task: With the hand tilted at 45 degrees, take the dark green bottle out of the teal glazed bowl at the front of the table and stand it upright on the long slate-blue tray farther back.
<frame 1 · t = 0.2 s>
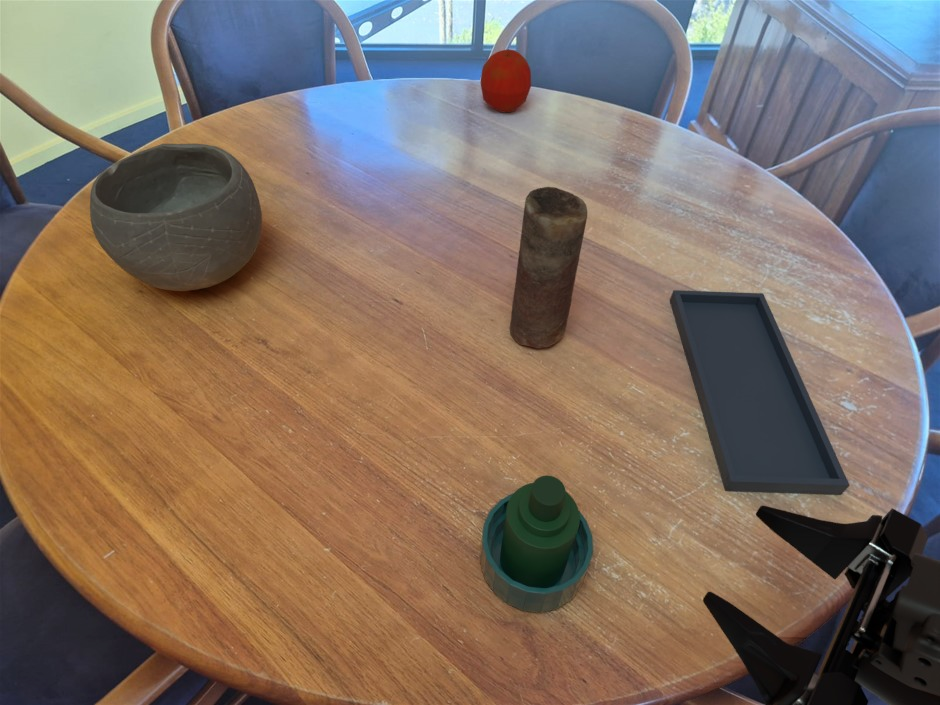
hand: (733, 550, 46), 16 cm above the table, tool horizontal, fingers open, 9 cm apart
apple: (504, 108, 127), on the table
brown textured cylinder: (537, 332, 83), on the table
glazed bowl: (532, 561, 61), on the table
bottle: (532, 559, 60), point 1 cm above the table, touching glazed bowl
tray: (743, 384, 77), on the table
bowl: (200, 268, 90), on the table
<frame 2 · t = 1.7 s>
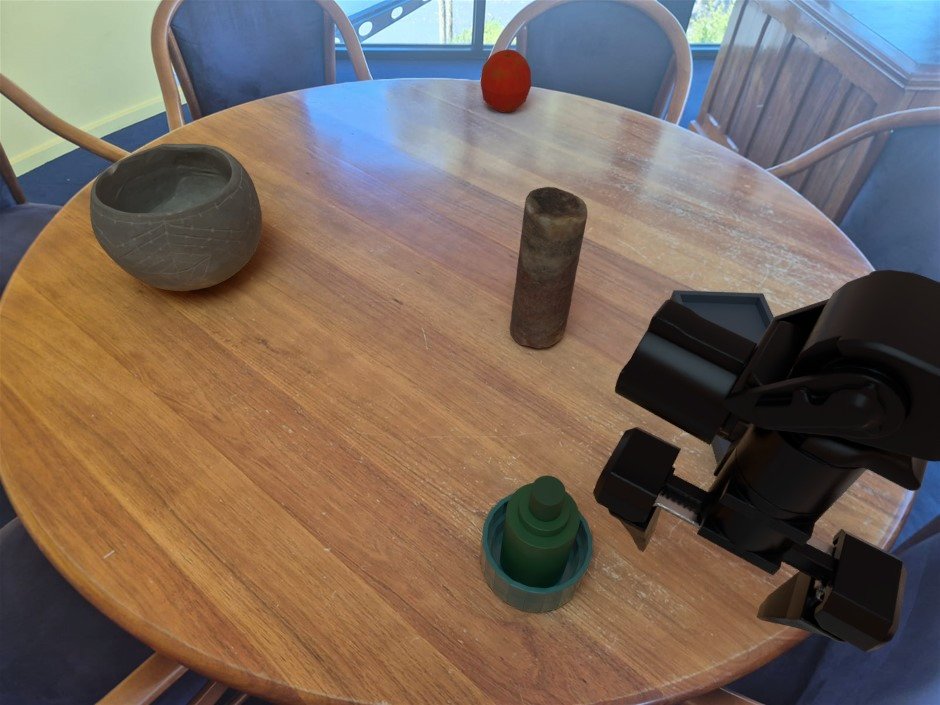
hand: (700, 578, 47), 13 cm above the table, tool pointing down, fingers open, 9 cm apart
nothing on the table moved.
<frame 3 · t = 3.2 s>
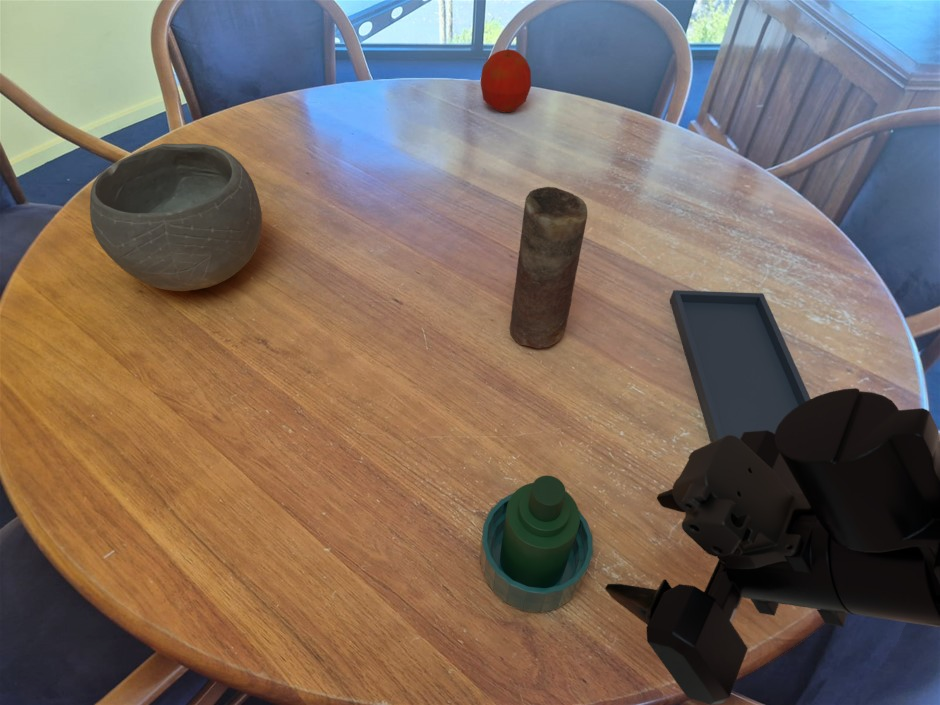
hand: (635, 543, 48), 13 cm above the table, tool tilted 45°, fingers open, 9 cm apart
nothing on the table moved.
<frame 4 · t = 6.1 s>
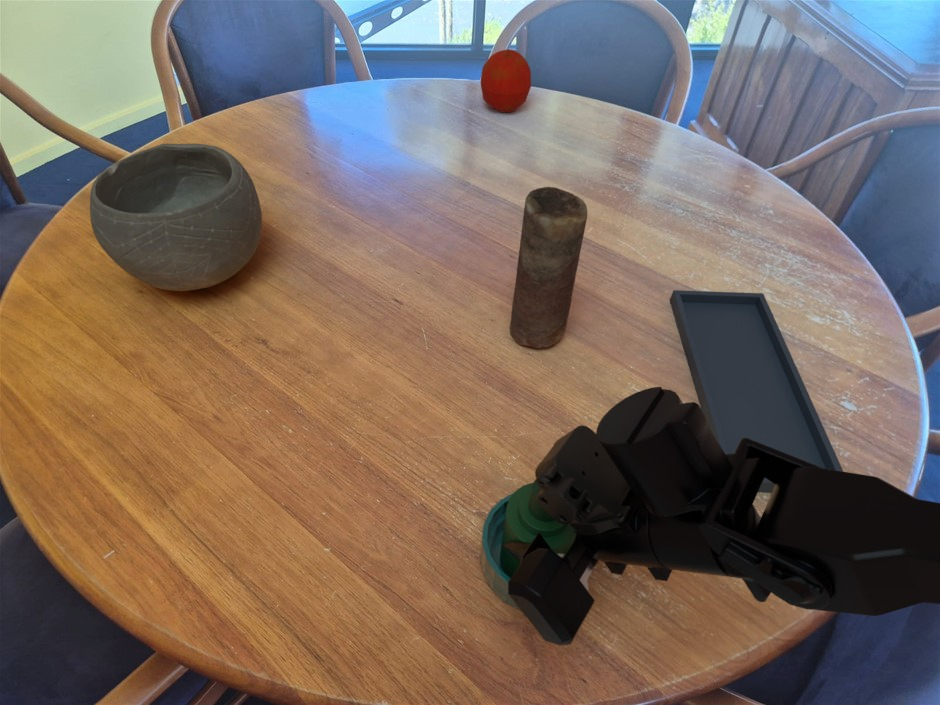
hand: (526, 519, 56), 7 cm above the table, tool tilted 45°, fingers closed on bottle, 6 cm apart
bottle: (532, 559, 60), point 1 cm above the table, touching glazed bowl, gripper
everything else where it was.
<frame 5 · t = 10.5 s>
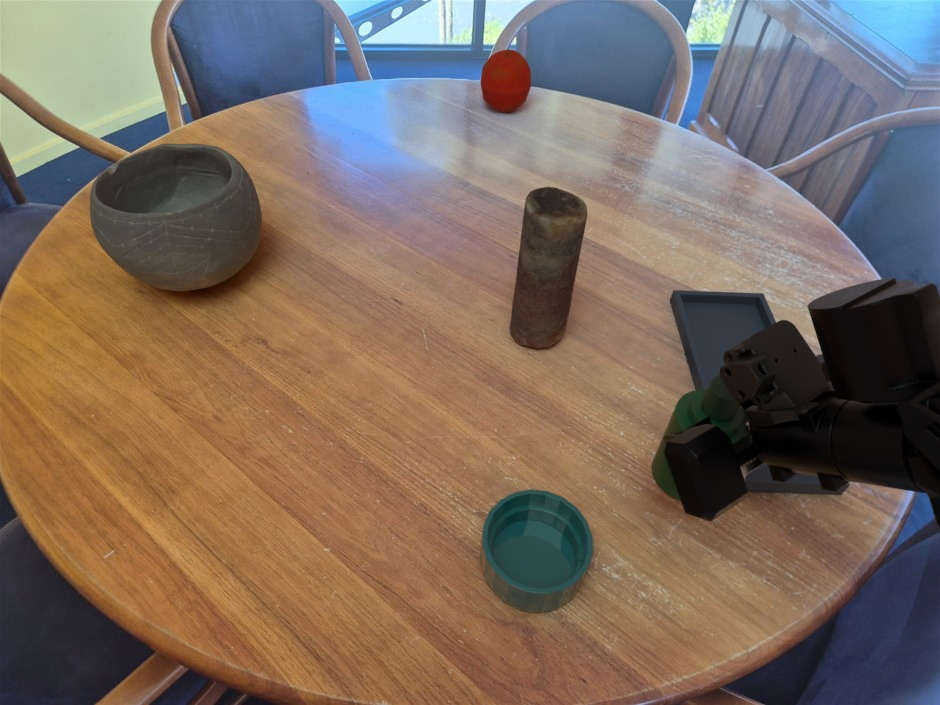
hand: (693, 424, 56), 13 cm above the table, tool tilted 45°, fingers closed on bottle, 6 cm apart
bottle: (684, 474, 60), point 7 cm above the table, touching gripper
everything else where it was.
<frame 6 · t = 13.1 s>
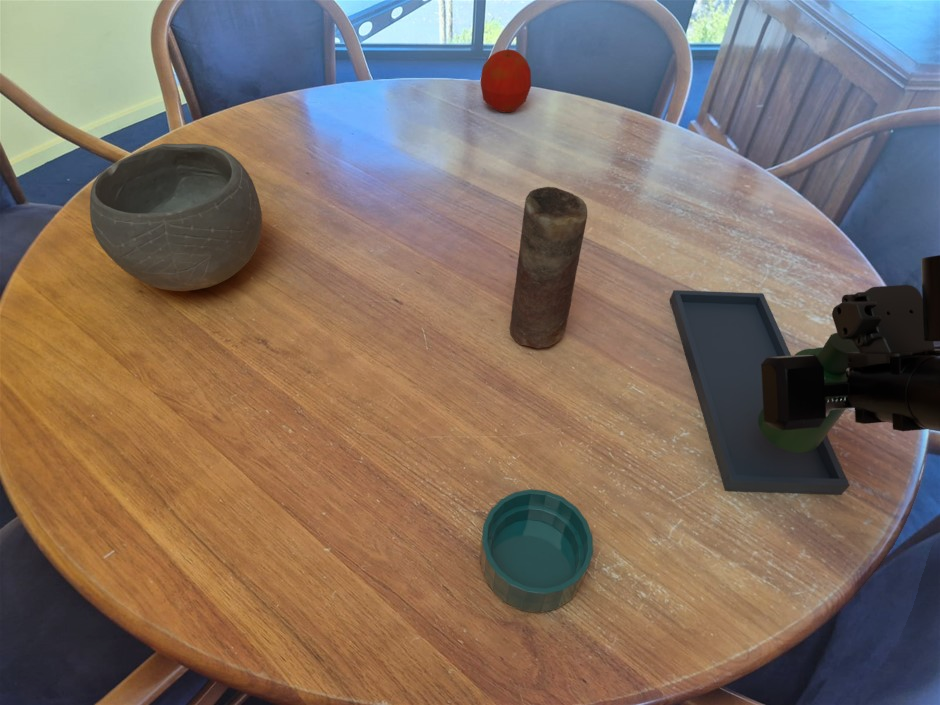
hand: (808, 379, 62), 12 cm above the table, tool tilted 45°, fingers closed on bottle, 6 cm apart
bottle: (789, 428, 66), point 5 cm above the table, touching gripper
everything else where it was.
when the fingers open (7 cm above the table, at t = 15.0 s): bottle stays where it is, resting on tray.
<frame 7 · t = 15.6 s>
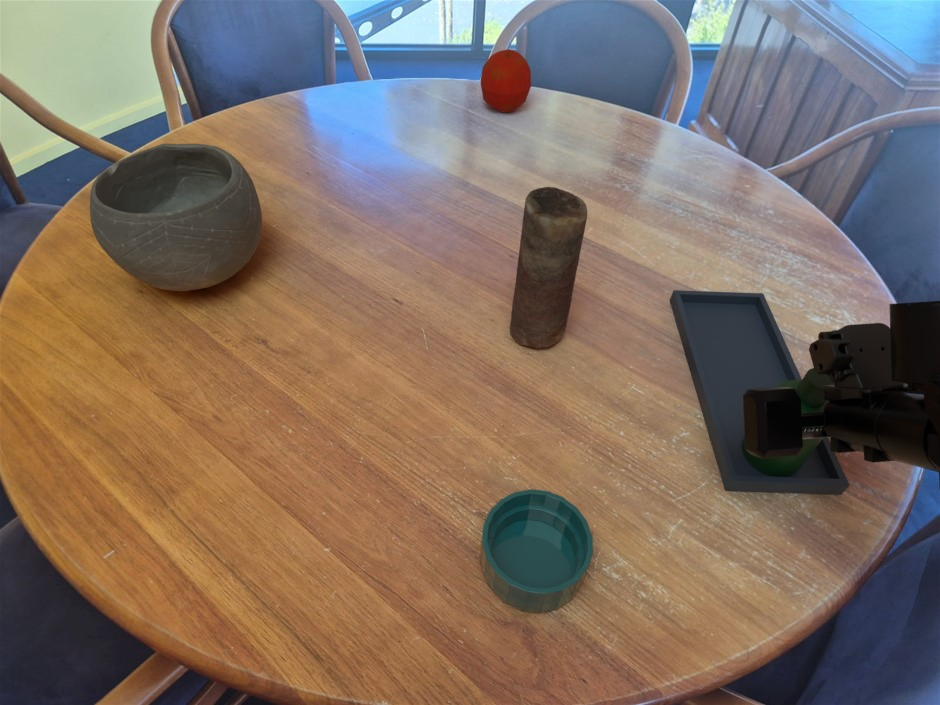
hand: (789, 405, 66), 7 cm above the table, tool tilted 45°, fingers open, 9 cm apart
bottle: (770, 453, 70), resting on tray
everything else where it was.
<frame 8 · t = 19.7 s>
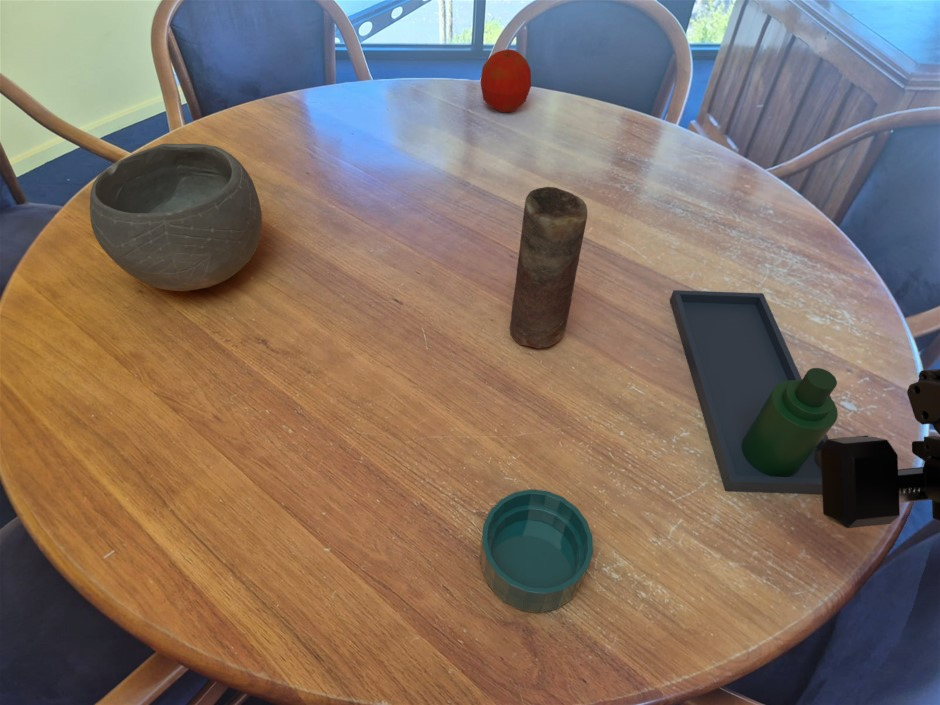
hand: (865, 451, 54), 14 cm above the table, tool tilted 45°, fingers open, 9 cm apart
nothing on the table moved.
at the end: bottle inside the target area in the tray (10.5 cm from its centre), point 0.5 cm above the tray's base; bottle tilted 0°; the gripper is holding nothing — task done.
